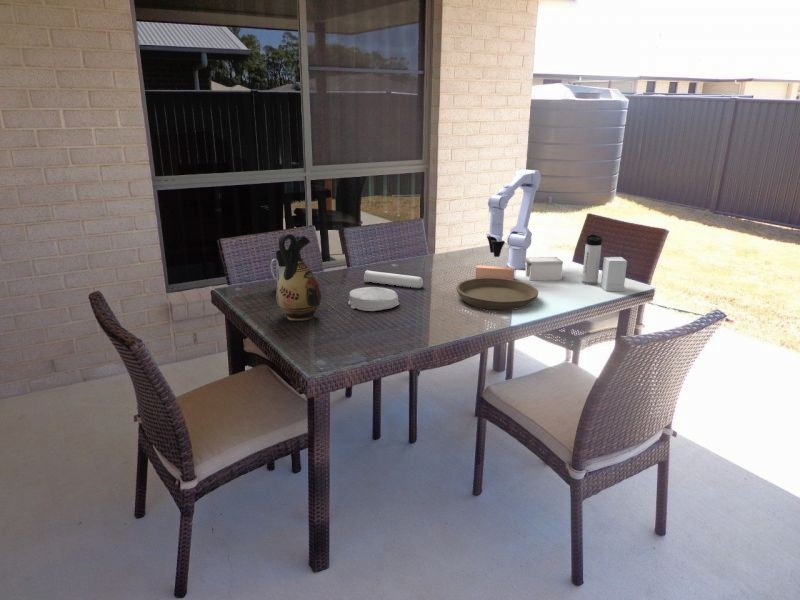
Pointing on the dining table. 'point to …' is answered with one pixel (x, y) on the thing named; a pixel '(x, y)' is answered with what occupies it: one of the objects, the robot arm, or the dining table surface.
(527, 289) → the plant saucer
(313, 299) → the ceramic jug
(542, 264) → the dispenser
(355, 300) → the food container
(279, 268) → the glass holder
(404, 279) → the tube
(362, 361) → the dining table surface
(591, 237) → the travel mug
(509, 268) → the orange long block
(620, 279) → the supplement box
